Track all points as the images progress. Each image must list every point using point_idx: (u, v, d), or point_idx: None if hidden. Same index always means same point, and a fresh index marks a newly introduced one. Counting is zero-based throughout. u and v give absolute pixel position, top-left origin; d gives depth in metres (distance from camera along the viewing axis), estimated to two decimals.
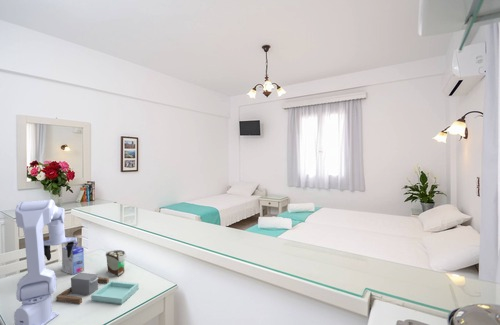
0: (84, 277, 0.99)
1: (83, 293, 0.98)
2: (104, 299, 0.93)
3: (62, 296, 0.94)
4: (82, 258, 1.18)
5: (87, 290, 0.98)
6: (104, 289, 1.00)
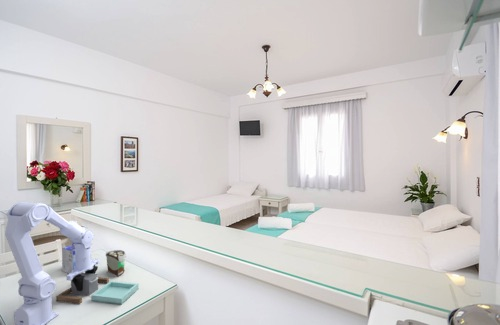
0: (84, 277, 0.99)
1: (83, 293, 0.98)
2: (104, 299, 0.93)
3: (62, 296, 0.94)
4: None
5: (87, 290, 0.98)
6: (104, 289, 1.00)
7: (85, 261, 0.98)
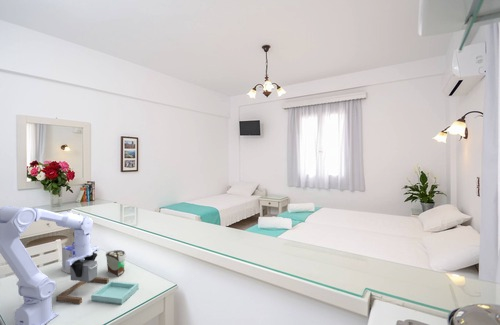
0: (83, 264, 0.99)
1: (82, 279, 0.98)
2: (104, 299, 0.93)
3: (62, 296, 0.94)
4: (82, 258, 1.18)
5: (86, 276, 0.98)
6: (104, 289, 1.00)
7: (84, 247, 0.98)
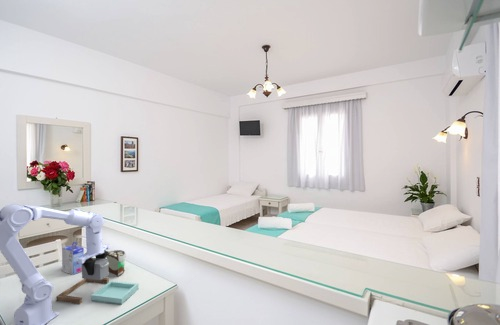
0: (95, 262, 0.98)
1: (94, 278, 0.97)
2: (104, 299, 0.93)
3: (62, 296, 0.94)
4: None
5: (98, 274, 0.97)
6: (104, 289, 1.00)
7: (96, 245, 0.97)
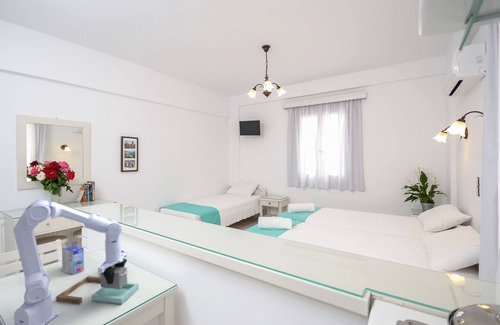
0: None
1: (113, 286, 0.96)
2: (104, 299, 0.93)
3: (62, 296, 0.94)
4: (82, 258, 1.18)
5: (117, 283, 0.95)
6: (104, 289, 1.00)
7: (116, 253, 0.96)
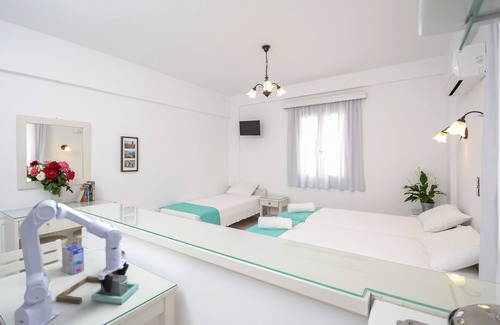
0: (114, 279, 0.97)
1: (113, 295, 0.96)
2: (104, 299, 0.93)
3: (62, 296, 0.94)
4: (82, 258, 1.18)
5: (117, 292, 0.96)
6: None
7: (116, 260, 0.96)
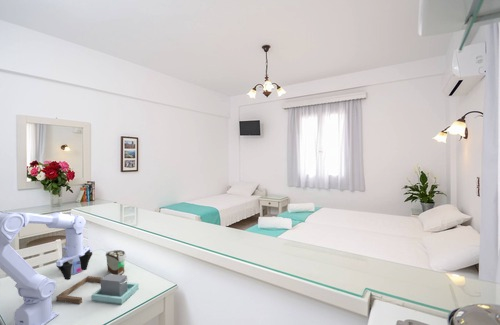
0: (114, 279, 0.97)
1: (113, 295, 0.96)
2: (104, 299, 0.93)
3: (62, 296, 0.94)
4: None
5: (117, 292, 0.96)
6: None
7: (76, 247, 0.95)
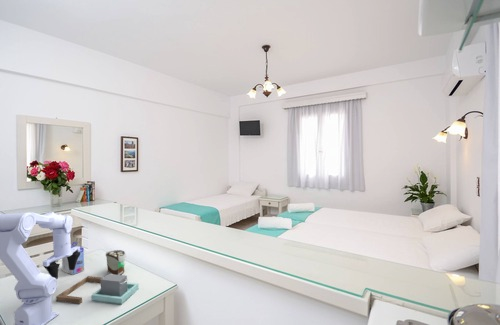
0: (114, 279, 0.97)
1: (113, 295, 0.96)
2: (104, 299, 0.93)
3: (62, 296, 0.94)
4: (82, 258, 1.18)
5: (117, 292, 0.96)
6: None
7: (63, 247, 0.95)
